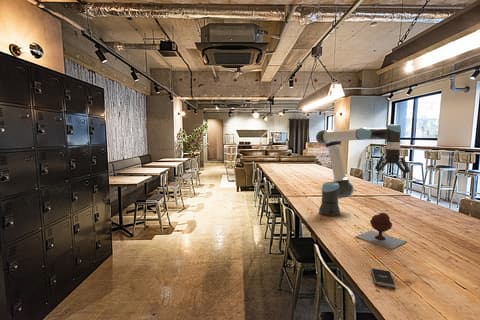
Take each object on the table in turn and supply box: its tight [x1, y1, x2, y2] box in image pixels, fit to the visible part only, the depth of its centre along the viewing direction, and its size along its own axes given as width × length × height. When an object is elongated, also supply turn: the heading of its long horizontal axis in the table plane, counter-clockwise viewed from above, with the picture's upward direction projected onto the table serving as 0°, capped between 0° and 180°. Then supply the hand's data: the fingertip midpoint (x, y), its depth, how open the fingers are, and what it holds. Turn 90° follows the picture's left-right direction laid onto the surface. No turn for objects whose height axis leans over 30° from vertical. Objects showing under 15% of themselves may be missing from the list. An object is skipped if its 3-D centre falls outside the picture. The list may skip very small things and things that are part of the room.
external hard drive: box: [371, 268, 396, 290], centre depth 103 cm, size 7×11×2 cm, turn 160°
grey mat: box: [354, 229, 408, 251], centre depth 143 cm, size 20×17×1 cm
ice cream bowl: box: [369, 212, 393, 240], centre depth 143 cm, size 11×11×15 cm
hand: (391, 181), depth 164 cm, fingers open, 13 cm apart
